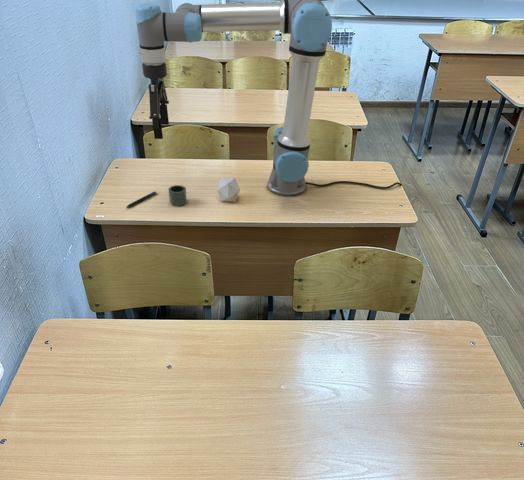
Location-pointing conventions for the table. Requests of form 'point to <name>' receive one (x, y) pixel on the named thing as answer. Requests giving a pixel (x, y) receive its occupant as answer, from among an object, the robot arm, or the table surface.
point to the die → (228, 189)
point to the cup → (177, 195)
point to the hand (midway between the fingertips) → (162, 131)
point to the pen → (141, 199)
